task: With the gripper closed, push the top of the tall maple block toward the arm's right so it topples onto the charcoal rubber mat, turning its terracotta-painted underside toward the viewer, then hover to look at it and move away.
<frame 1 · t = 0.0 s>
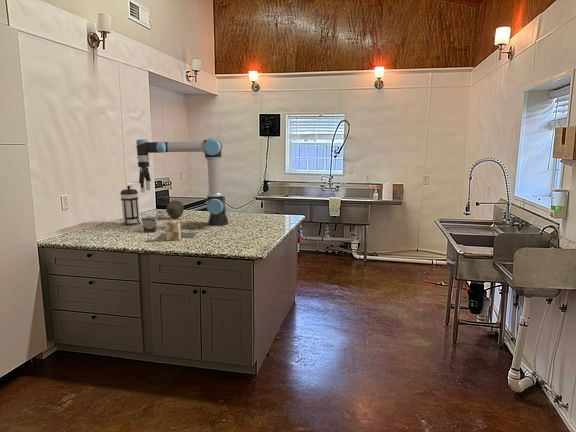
hand: (145, 191, 290), 28 cm above the worktop, tool pointing down, fingers open, 13 cm apart
cantaloupe: (175, 218, 335), on the worktop
maple block: (173, 239, 262), on the worktop
food container: (152, 231, 289), on the worktop
rubber mat: (177, 235, 273), on the worktop
coffee press: (132, 224, 314), on the worktop
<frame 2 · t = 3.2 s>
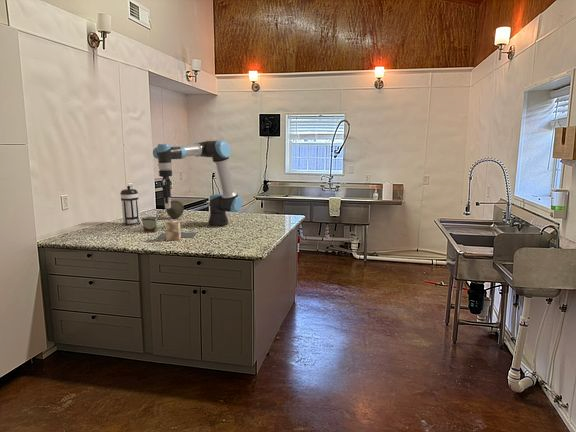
hand: (168, 208, 248), 22 cm above the worktop, tool pointing down, fingers open, 2 cm apart
nothing on the worktop moved.
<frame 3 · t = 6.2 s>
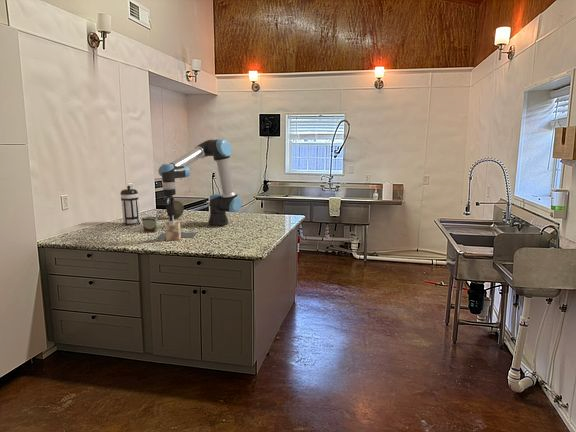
hand: (171, 225, 257), 10 cm above the worktop, tool pointing down, fingers closed
maple block: (173, 239, 262), on the worktop, touching gripper
everything else where it was.
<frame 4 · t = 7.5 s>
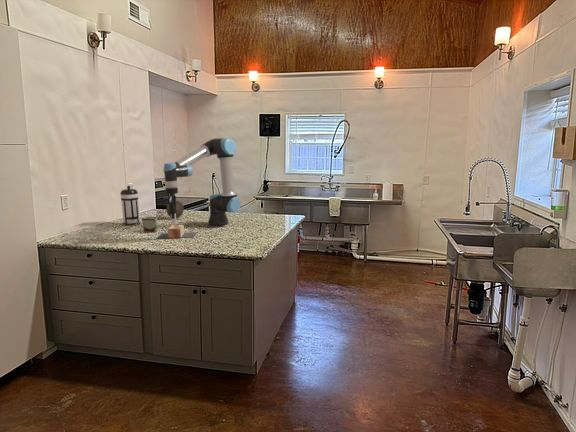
hand: (174, 223, 264), 10 cm above the worktop, tool pointing down, fingers closed
maple block: (174, 233, 265), point 3 cm above the worktop, tilted 90°, touching rubber mat
everything else where it was.
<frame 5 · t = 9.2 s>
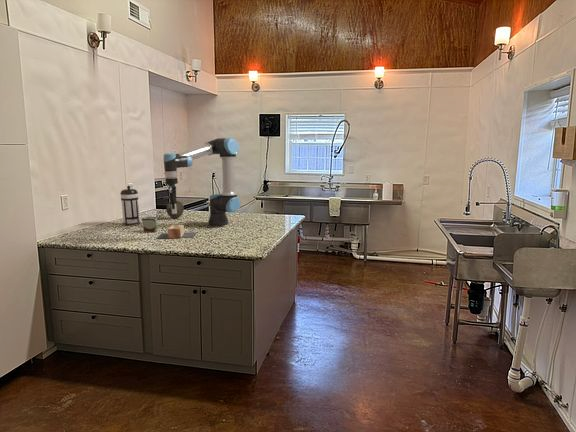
hand: (174, 213, 265), 16 cm above the worktop, tool pointing down, fingers closed
nothing on the worktop moved.
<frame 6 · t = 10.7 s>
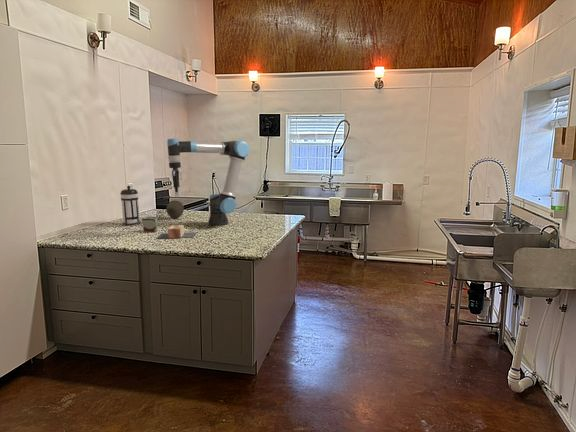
hand: (177, 196, 275), 26 cm above the worktop, tool pointing down, fingers closed
nothing on the worktop moved.
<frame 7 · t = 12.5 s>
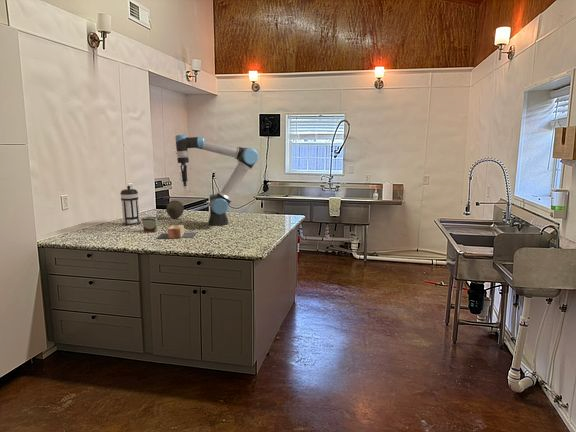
hand: (185, 190, 287), 28 cm above the worktop, tool pointing down, fingers closed
nothing on the worktop moved.
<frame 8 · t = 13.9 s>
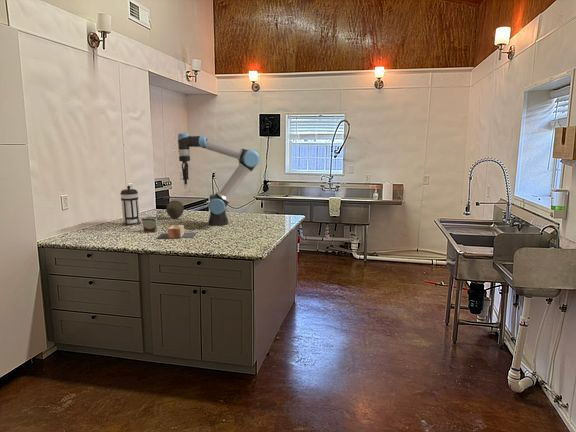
hand: (186, 188, 290), 29 cm above the worktop, tool pointing down, fingers closed
nothing on the worktop moved.
at the end: maple block tilted 90°; maple block touching rubber mat; maple block inside the target area (0.2 cm from its centre), point 3.5 cm above the worktop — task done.
